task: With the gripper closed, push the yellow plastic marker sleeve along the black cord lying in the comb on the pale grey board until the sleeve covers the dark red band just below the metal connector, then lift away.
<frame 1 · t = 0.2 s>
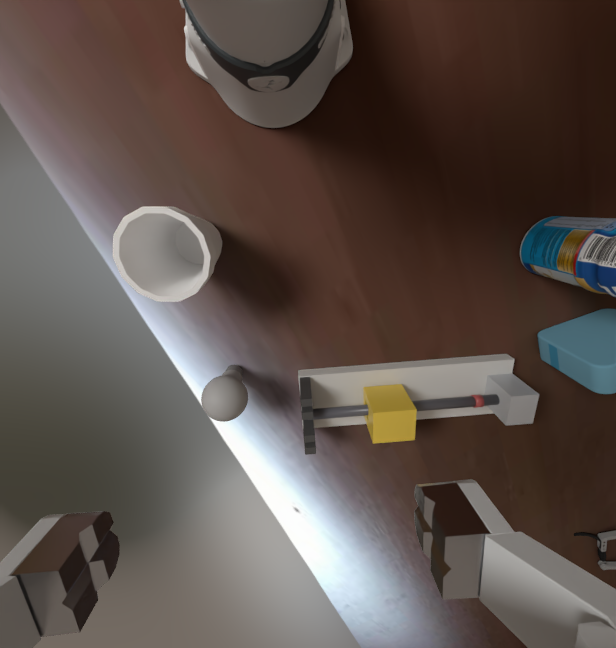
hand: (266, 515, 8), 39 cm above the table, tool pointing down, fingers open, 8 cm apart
marker sleeve: (387, 412, 47), point 6 cm above the table, slide at 0.0 cm
beverage bottle: (544, 245, 46), on the table
foam cup: (199, 242, 44), on the table
lightbulb: (235, 368, 51), on the table
data package: (570, 331, 51), on the table
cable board: (401, 388, 53), on the table
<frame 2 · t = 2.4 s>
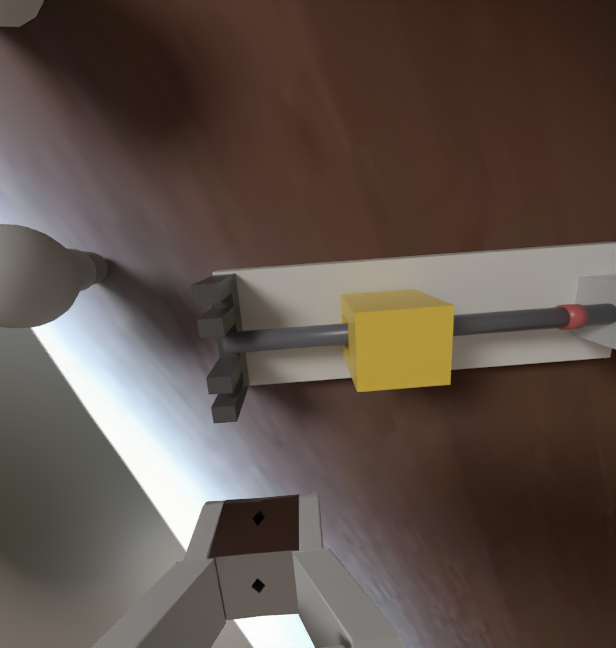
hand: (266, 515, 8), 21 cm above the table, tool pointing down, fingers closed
marker sleeve: (389, 334, 23), point 6 cm above the table, slide at 0.0 cm
lightbulb: (99, 266, 27), on the table
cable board: (414, 312, 29), on the table
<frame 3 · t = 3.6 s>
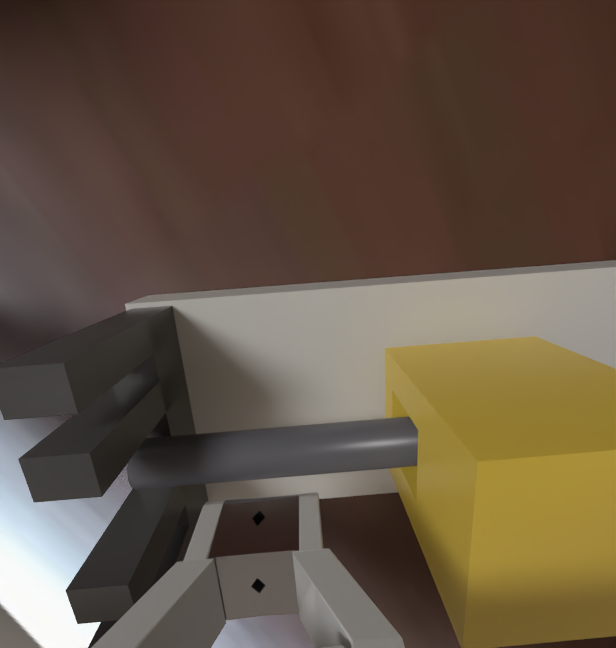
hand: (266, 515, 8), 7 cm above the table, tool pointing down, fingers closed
marker sleeve: (508, 453, 10), point 6 cm above the table, slide at 0.0 cm
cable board: (509, 368, 16), on the table
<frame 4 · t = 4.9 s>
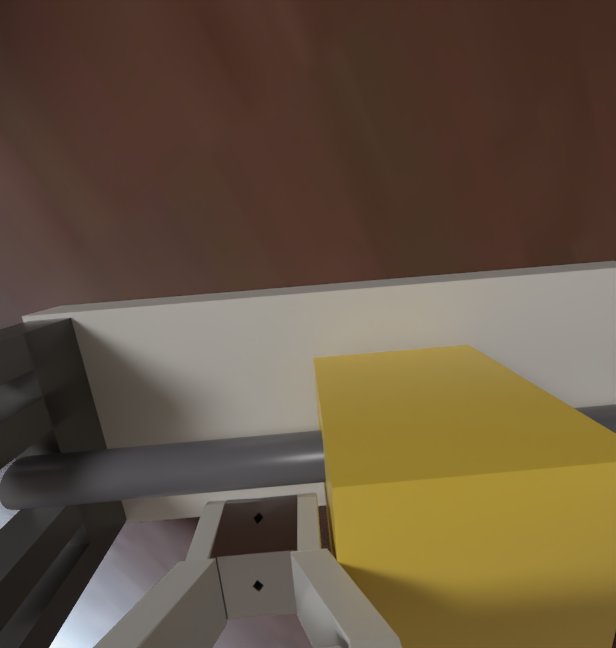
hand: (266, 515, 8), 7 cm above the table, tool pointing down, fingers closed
marker sleeve: (423, 468, 10), point 6 cm above the table, slide at 0.9 cm, touching gripper
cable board: (438, 377, 15), on the table
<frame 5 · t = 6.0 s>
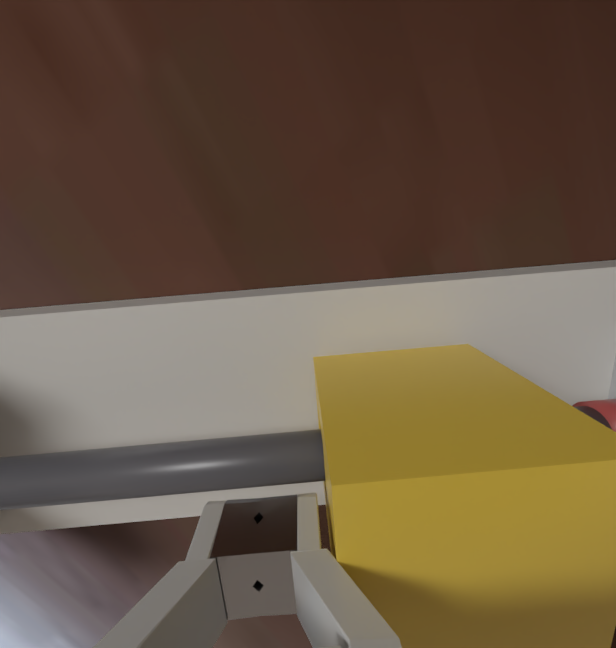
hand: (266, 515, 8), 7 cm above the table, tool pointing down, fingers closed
marker sleeve: (422, 466, 10), point 6 cm above the table, slide at 7.3 cm, touching gripper
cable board: (308, 387, 15), on the table
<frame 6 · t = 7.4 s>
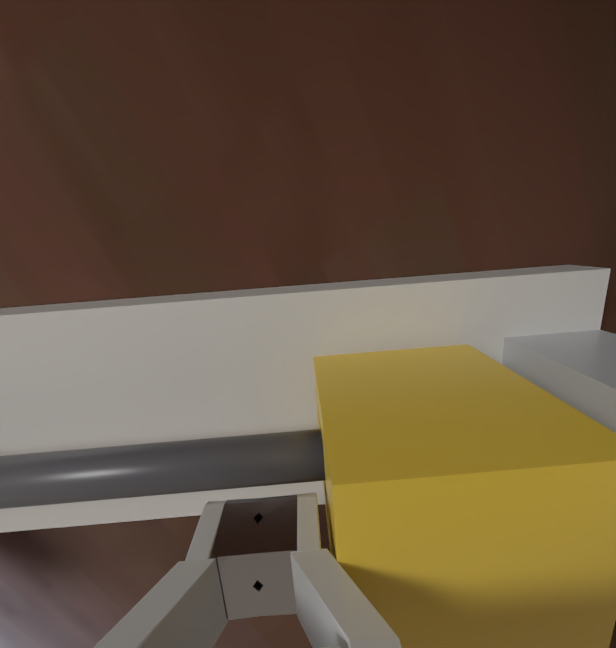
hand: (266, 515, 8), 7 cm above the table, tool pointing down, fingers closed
marker sleeve: (422, 467, 10), point 6 cm above the table, slide at 12.1 cm, touching gripper
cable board: (208, 395, 15), on the table
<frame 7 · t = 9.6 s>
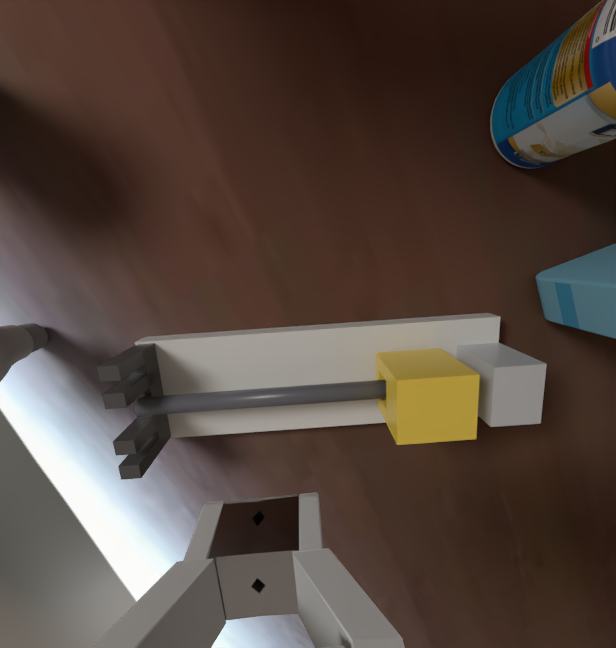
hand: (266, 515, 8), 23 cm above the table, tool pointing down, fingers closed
marker sleeve: (421, 391, 27), point 6 cm above the table, slide at 12.1 cm
beverage bottle: (531, 121, 28), on the table
lightbulb: (42, 333, 31), on the table
data package: (589, 275, 31), on the table
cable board: (320, 372, 32), on the table
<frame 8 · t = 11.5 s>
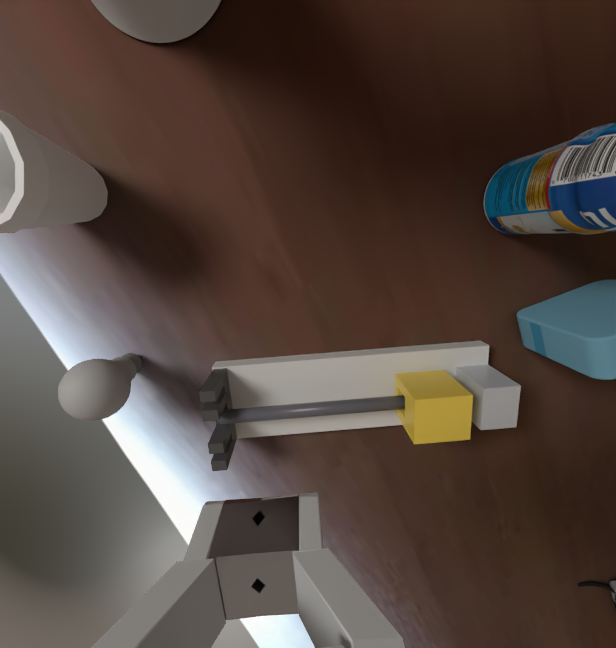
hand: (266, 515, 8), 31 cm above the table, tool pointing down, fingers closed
marker sleeve: (430, 404, 36), point 6 cm above the table, slide at 12.1 cm
beverage bottle: (514, 198, 37), on the table
foam cup: (79, 191, 35), on the table
lightbulb: (135, 359, 40), on the table
data package: (558, 311, 40), on the table
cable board: (350, 386, 42), on the table
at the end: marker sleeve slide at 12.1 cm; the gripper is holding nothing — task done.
